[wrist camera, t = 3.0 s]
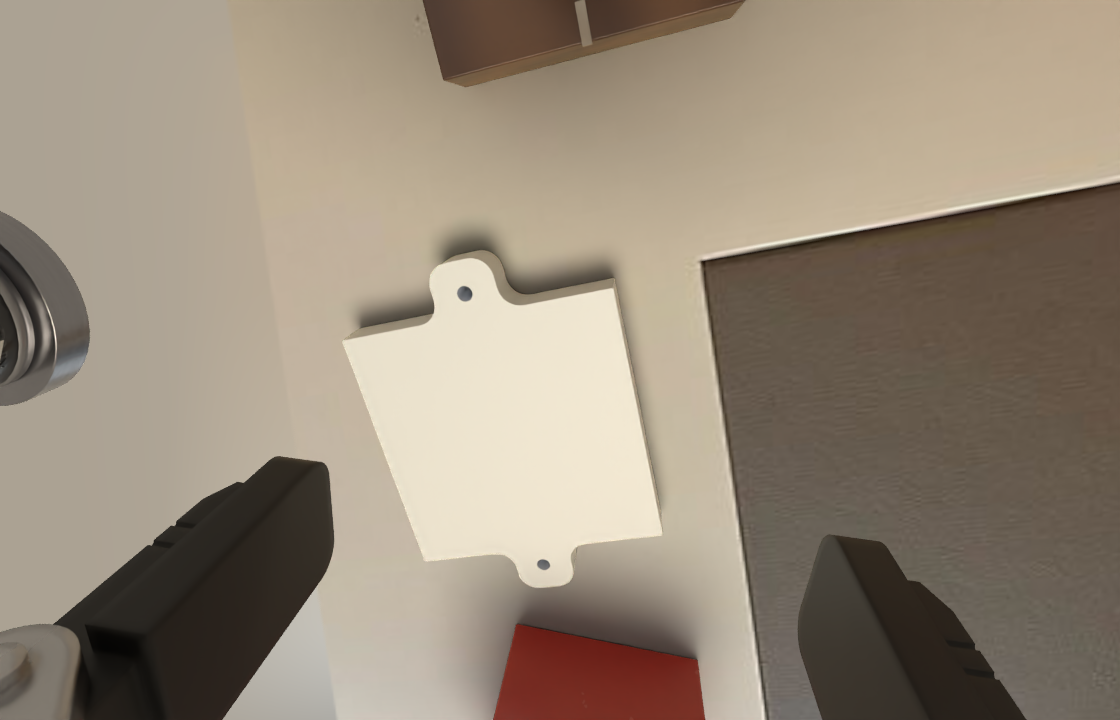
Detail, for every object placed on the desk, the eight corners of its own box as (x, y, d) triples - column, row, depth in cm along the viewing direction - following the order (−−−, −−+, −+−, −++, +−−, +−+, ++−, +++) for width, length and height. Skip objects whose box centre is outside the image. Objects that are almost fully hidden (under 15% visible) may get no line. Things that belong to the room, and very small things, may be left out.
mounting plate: (668, 550, 31) (670, 575, 29) (448, 573, 34) (438, 597, 32) (603, 223, 25) (601, 229, 24) (342, 279, 28) (322, 289, 26)
